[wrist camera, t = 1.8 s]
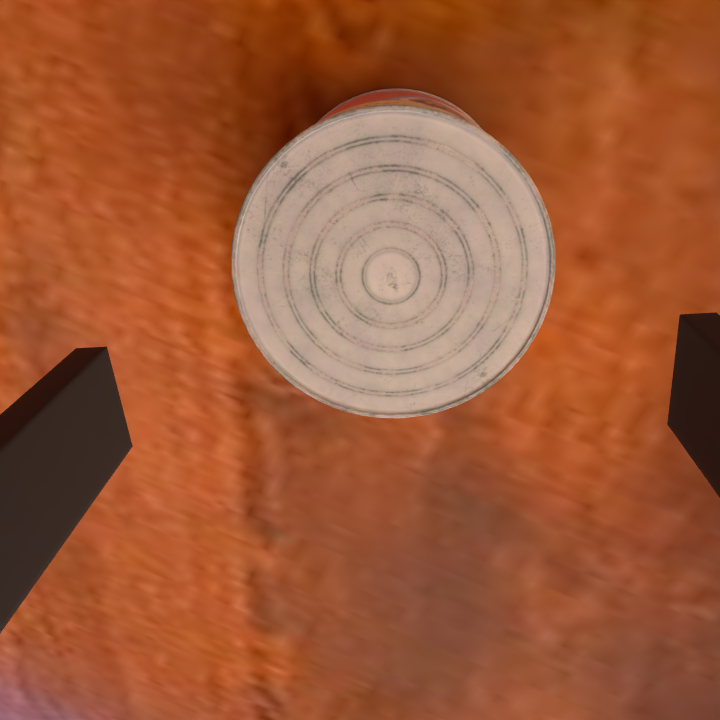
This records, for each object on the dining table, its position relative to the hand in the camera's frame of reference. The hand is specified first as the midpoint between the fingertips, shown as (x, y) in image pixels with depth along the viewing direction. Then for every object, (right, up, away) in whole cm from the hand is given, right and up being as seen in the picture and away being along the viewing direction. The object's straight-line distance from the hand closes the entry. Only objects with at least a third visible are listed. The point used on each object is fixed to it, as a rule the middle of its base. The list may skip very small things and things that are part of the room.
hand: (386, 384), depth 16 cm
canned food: (+1, +8, +19) cm, 21 cm away
